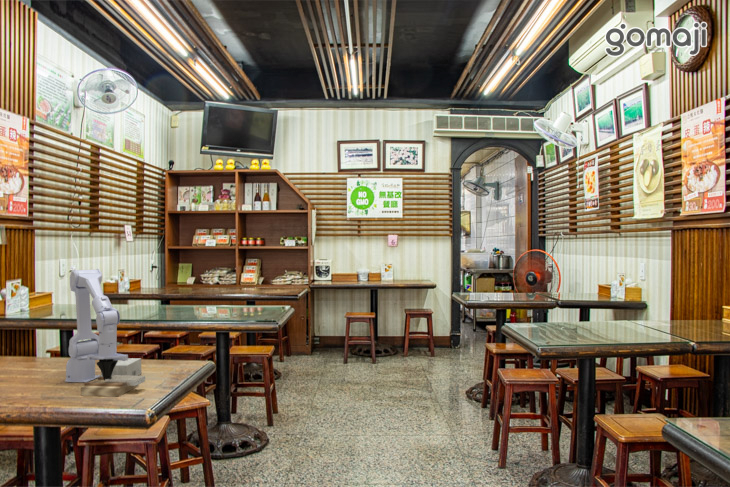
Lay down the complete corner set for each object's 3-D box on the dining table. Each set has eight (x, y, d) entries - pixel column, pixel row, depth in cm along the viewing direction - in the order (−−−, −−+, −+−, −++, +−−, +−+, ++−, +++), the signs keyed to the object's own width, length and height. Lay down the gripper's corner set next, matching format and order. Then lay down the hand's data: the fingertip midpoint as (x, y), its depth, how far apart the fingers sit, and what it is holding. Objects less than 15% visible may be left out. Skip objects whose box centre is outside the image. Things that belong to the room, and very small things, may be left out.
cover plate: (105, 384, 158) (105, 379, 158) (114, 380, 163) (114, 375, 163) (136, 385, 157) (136, 380, 157) (145, 381, 162) (145, 375, 162)
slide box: (80, 395, 155) (80, 385, 155) (103, 385, 167) (103, 375, 167) (118, 396, 154) (118, 386, 154) (138, 386, 166) (138, 376, 166)
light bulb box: (142, 373, 181) (116, 373, 182) (141, 357, 181) (116, 357, 182) (127, 381, 171) (100, 381, 171) (127, 364, 171) (100, 364, 171)
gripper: (81, 345, 157) (80, 382, 157) (119, 345, 156) (119, 383, 156) (94, 340, 164) (94, 376, 164) (131, 341, 163) (131, 377, 163)
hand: (107, 379), depth 160 cm, fingers closed
